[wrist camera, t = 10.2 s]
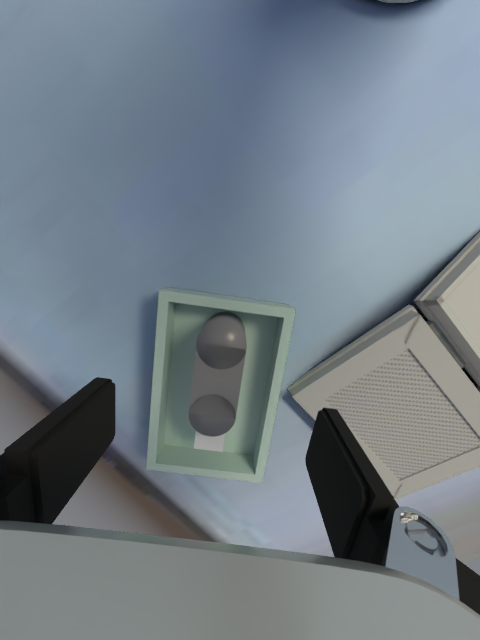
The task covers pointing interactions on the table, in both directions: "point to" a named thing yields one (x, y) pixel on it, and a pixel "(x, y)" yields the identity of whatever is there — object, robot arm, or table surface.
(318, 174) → the table surface
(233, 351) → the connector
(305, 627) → the robot arm
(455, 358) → the gadget
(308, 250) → the table surface
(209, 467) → the tray
